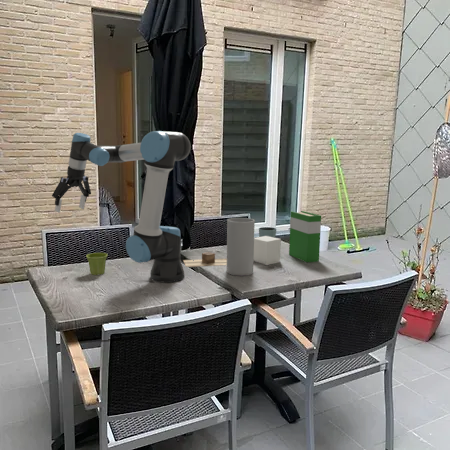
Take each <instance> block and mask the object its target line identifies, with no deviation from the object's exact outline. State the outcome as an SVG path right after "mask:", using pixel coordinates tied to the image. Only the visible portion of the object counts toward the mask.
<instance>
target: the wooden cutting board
mask: <svg viewBox="0 0 450 450" xmlns="http://www.w3.org/2000/svg"><path fill="white" fill-rule="evenodd" d="M193 260H194V261H193ZM182 261H183V263H184V265H185V267H186V268H190V267H191V268H193V267H195V268H196V267H216V266H218V267H219V266H227V258H215V263H211V264H206V263H203V262H202V258H200V259H182Z"/></svg>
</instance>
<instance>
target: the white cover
mask: <svg viewBox="0 0 450 450" xmlns="http://www.w3.org/2000/svg"><path fill="white" fill-rule="evenodd" d="M281 246H282V238H278V237H275V238H274V237H269V236H262V237H259V236H257V237H254V261H253V262H254V263H255V262H256V263H260V264H262V265H264V266H268V265H273V264H278V263H280V262H281V249H282V248H281Z"/></svg>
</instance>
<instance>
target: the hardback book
mask: <svg viewBox="0 0 450 450" xmlns="http://www.w3.org/2000/svg"><path fill="white" fill-rule="evenodd" d="M289 224H290V226H289V244H288V245H289V246H288V247H289V248H288V255H289V256H291V257H294V258H296V259H298V260H299V261H302V262H305V263H314V262H315V263H316V262H320V249H321V248H320V245H321V228H322V215H320V214H317V213H316V214H315V213H312V212H308V211H304V210H301V211H300V212H296V211H292V210H291V211H290V223H289Z"/></svg>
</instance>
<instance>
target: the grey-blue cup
mask: <svg viewBox="0 0 450 450" xmlns="http://www.w3.org/2000/svg"><path fill="white" fill-rule="evenodd" d="M258 234H259V235H258V237H262V236H269V237H274V238H277V237H276V235H277V228H276V227H271V226H264V227H263V226H262V227H258Z"/></svg>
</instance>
